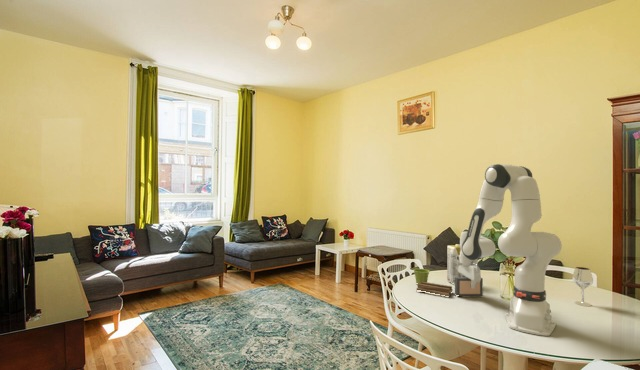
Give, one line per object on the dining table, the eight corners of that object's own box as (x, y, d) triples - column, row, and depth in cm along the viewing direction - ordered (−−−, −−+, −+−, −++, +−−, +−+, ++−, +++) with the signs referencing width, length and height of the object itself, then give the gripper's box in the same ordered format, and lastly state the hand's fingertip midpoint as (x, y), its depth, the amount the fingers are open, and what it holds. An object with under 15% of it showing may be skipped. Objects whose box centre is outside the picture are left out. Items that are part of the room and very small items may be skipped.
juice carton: (466, 285, 196) (466, 245, 196) (454, 285, 194) (454, 245, 195) (456, 280, 205) (456, 242, 205) (445, 281, 203) (445, 243, 204)
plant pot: (410, 282, 200) (411, 268, 200) (425, 282, 201) (425, 268, 201) (417, 287, 191) (417, 272, 191) (432, 286, 192) (432, 272, 192)
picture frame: (482, 297, 174) (482, 278, 174) (457, 297, 174) (456, 278, 174) (480, 295, 176) (480, 277, 177) (454, 295, 176) (454, 277, 176)
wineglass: (597, 307, 159) (597, 270, 159) (578, 306, 161) (578, 269, 161) (587, 301, 167) (586, 266, 167) (569, 300, 169) (569, 266, 169)
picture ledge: (448, 297, 172) (448, 290, 172) (416, 291, 182) (416, 284, 182) (452, 292, 181) (452, 285, 181) (421, 287, 190) (421, 280, 190)
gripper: (484, 264, 165) (484, 291, 165) (465, 255, 186) (465, 279, 186) (472, 264, 165) (471, 291, 165) (454, 255, 186) (454, 279, 186)
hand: (468, 285), depth 176 cm, fingers open, 8 cm apart
